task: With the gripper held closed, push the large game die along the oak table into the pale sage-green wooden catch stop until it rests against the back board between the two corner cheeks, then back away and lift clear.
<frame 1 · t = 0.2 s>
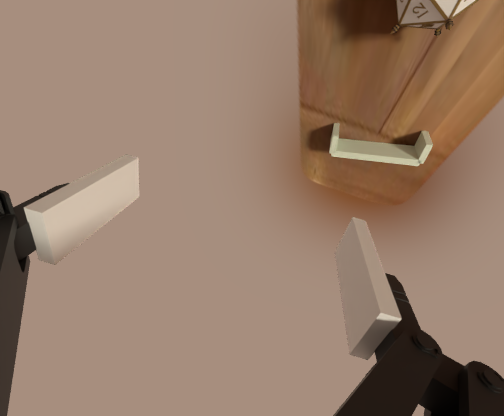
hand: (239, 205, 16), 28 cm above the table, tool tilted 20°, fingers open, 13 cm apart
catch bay: (387, 103, 35), on the table
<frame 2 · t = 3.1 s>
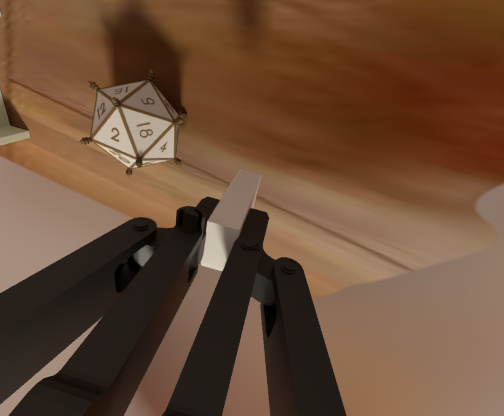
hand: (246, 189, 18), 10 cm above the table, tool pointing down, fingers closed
game die: (161, 118, 27), on the table
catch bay: (46, 87, 28), on the table
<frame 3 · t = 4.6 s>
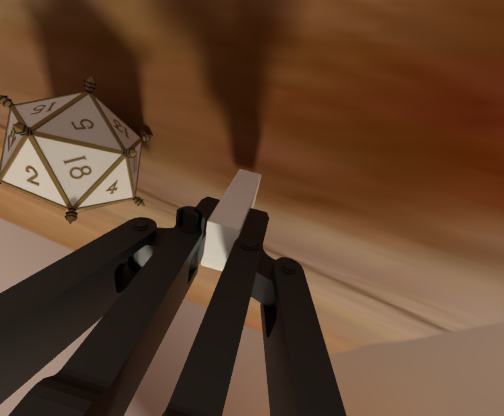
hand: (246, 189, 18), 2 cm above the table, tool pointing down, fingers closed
game die: (120, 139, 20), on the table
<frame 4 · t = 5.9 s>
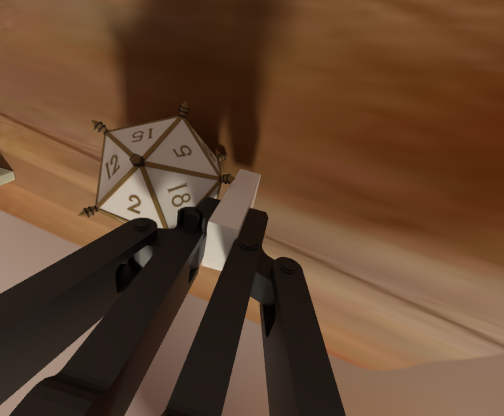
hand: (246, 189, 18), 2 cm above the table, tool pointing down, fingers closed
game die: (190, 159, 20), on the table, touching gripper
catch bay: (35, 118, 20), on the table
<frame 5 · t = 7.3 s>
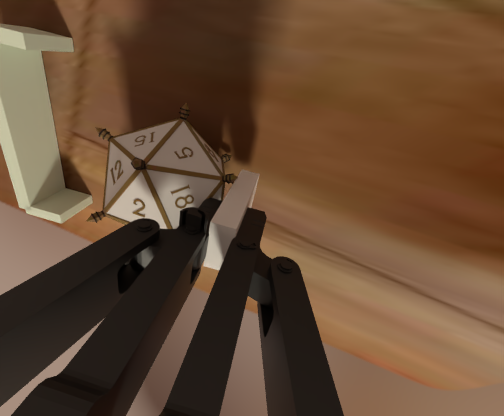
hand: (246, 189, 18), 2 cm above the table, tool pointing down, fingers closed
game die: (195, 161, 20), on the table, touching gripper
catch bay: (126, 145, 20), on the table
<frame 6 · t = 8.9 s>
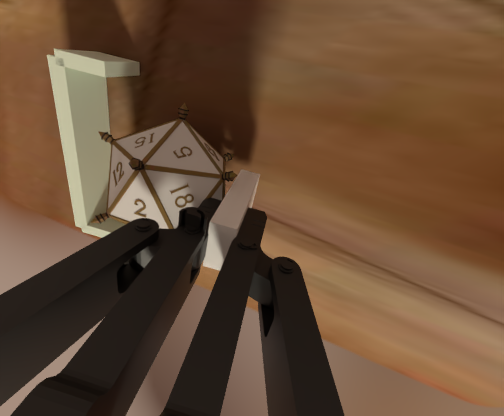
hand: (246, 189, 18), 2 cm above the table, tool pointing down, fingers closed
game die: (199, 161, 20), on the table, touching gripper
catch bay: (182, 164, 20), on the table
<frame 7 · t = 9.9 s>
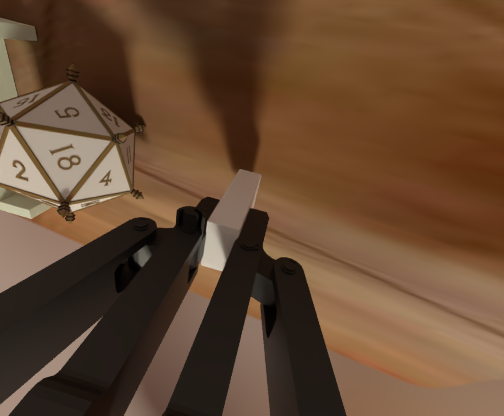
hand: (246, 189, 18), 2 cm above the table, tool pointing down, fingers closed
game die: (114, 135, 20), on the table
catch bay: (96, 138, 20), on the table
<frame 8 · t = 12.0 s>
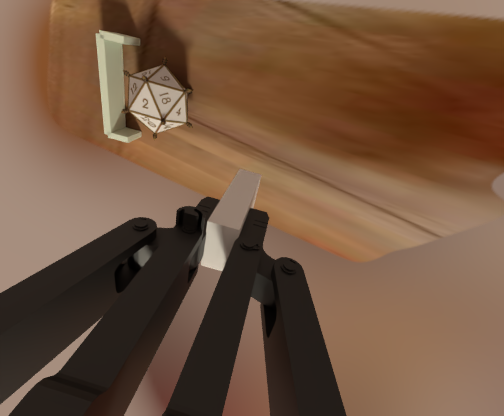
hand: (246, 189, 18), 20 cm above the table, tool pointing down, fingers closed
game die: (174, 96, 36), on the table
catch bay: (164, 98, 36), on the table
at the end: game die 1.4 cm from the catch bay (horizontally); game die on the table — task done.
